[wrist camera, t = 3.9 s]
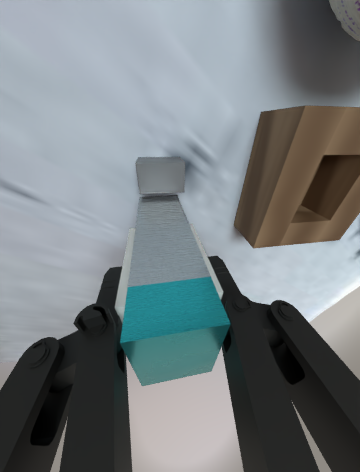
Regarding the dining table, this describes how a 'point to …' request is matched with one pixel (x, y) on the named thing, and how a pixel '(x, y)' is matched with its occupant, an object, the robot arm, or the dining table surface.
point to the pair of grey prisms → (160, 174)
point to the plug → (170, 298)
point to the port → (301, 177)
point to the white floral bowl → (348, 15)
